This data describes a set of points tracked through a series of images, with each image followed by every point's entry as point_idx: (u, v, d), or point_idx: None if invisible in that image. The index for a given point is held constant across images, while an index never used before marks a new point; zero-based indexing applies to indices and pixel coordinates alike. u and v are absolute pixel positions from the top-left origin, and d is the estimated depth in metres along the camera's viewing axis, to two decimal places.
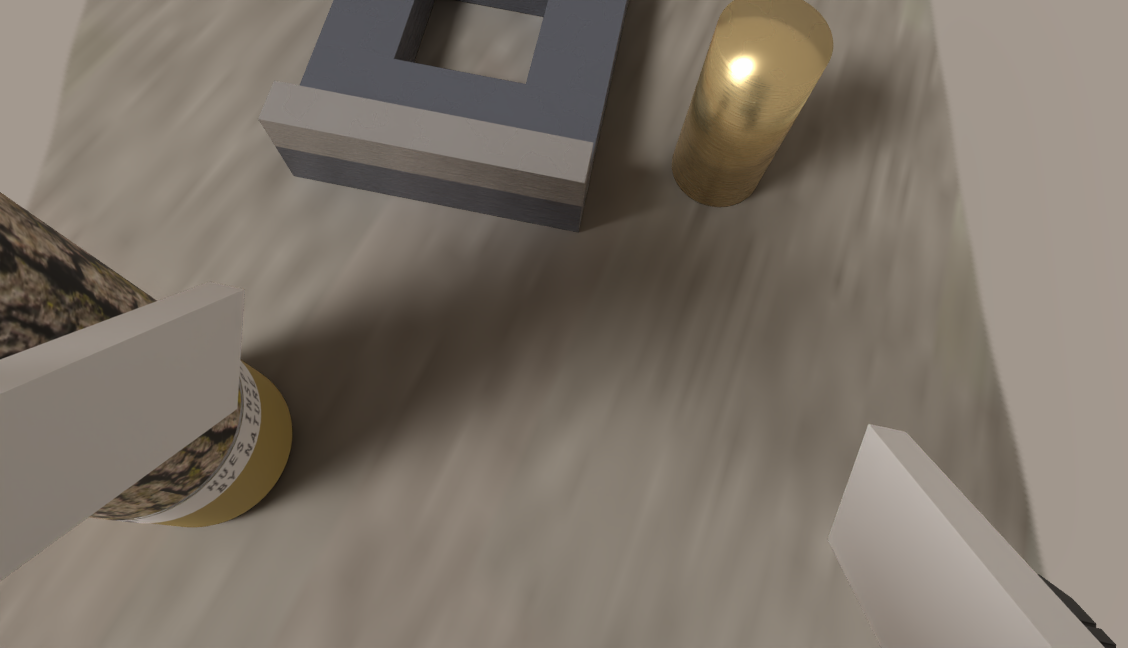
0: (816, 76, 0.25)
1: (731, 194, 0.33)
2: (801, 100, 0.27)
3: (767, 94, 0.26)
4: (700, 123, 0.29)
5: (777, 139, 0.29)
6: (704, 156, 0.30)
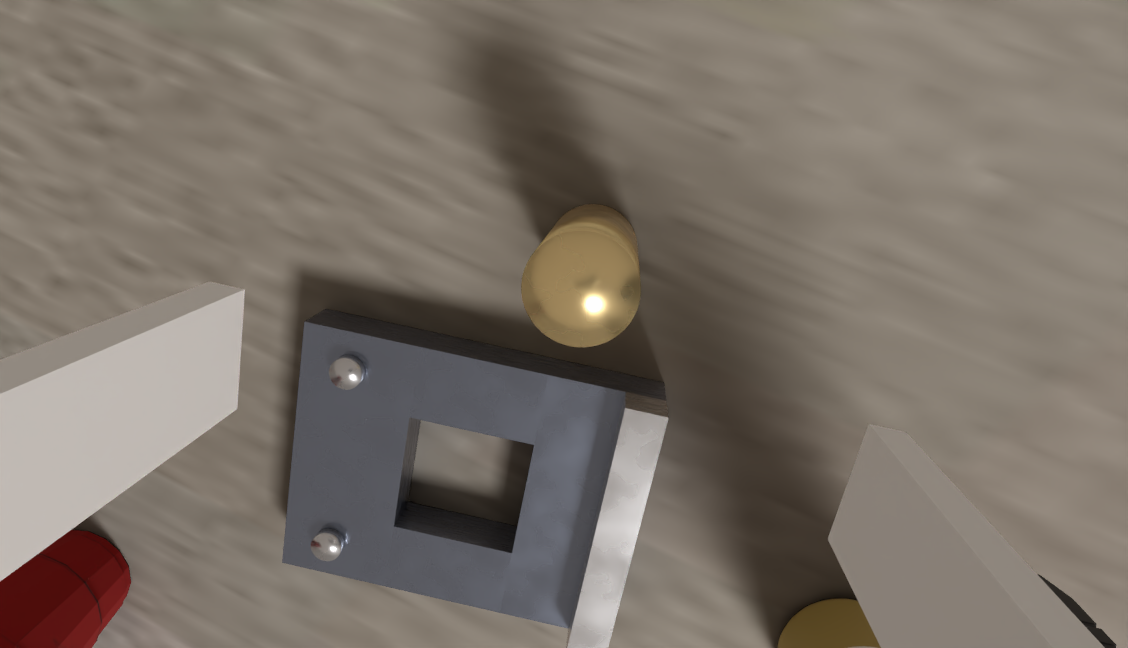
0: (627, 252, 0.25)
1: None
2: (629, 249, 0.26)
3: None
4: None
5: (631, 241, 0.28)
6: None
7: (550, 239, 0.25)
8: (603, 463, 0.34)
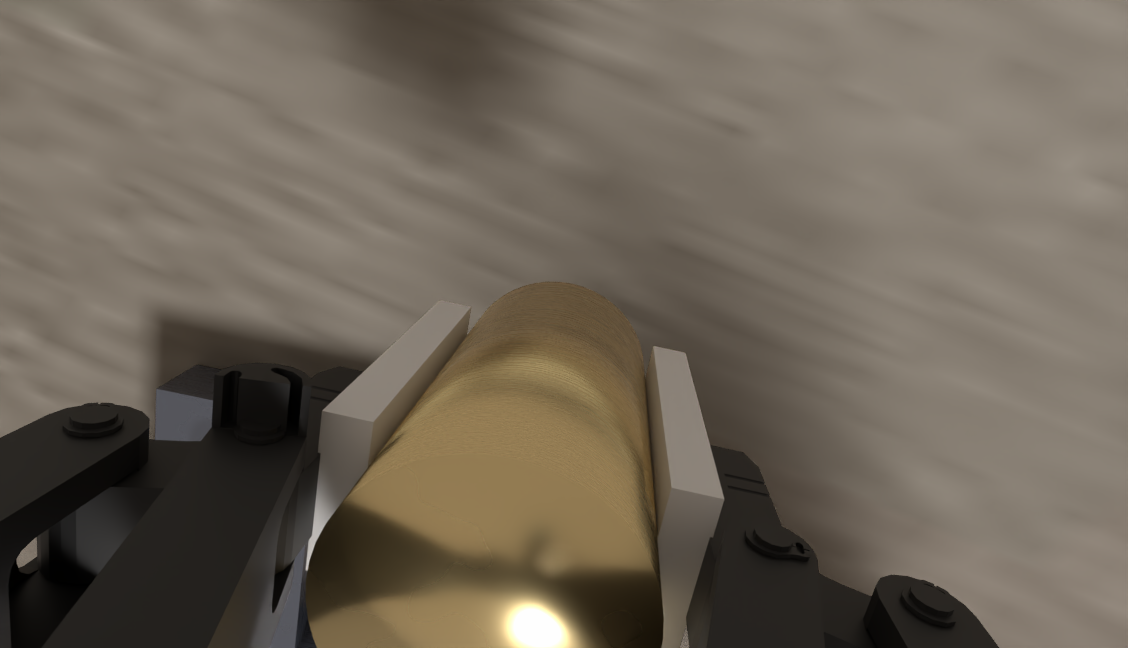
0: (621, 518, 0.08)
1: (644, 375, 0.16)
2: (628, 473, 0.09)
3: None
4: None
5: (632, 408, 0.12)
6: None
7: (381, 477, 0.08)
8: None
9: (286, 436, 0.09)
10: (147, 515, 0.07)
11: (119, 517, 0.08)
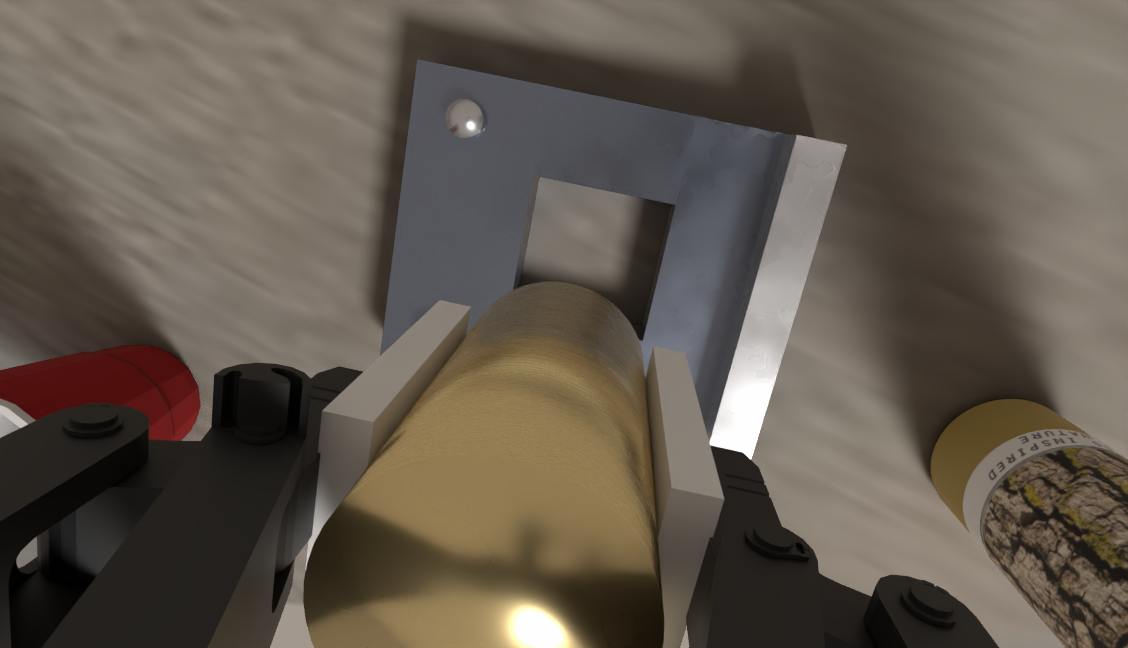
0: (622, 520, 0.08)
1: (644, 375, 0.16)
2: (629, 473, 0.09)
3: None
4: None
5: (632, 409, 0.11)
6: None
7: (380, 478, 0.08)
8: (754, 225, 0.30)
9: (286, 436, 0.09)
10: (147, 515, 0.07)
11: (120, 517, 0.08)
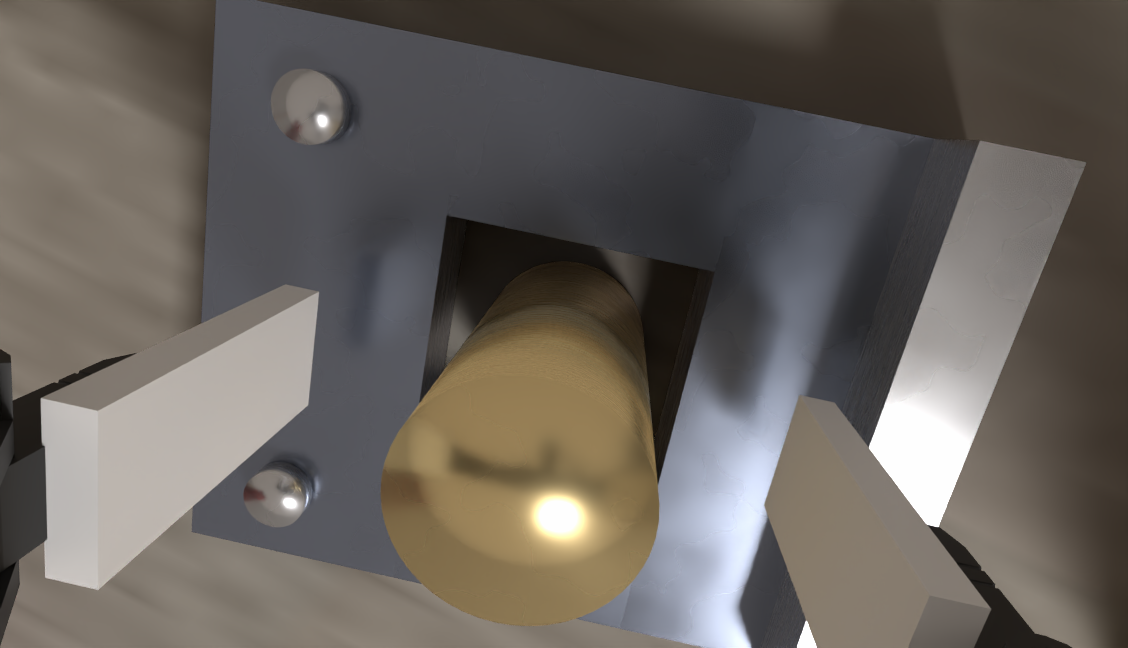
0: (627, 425, 0.10)
1: None
2: (631, 399, 0.12)
3: None
4: None
5: (634, 359, 0.14)
6: None
7: (442, 394, 0.10)
8: (864, 310, 0.16)
9: None
10: None
11: None
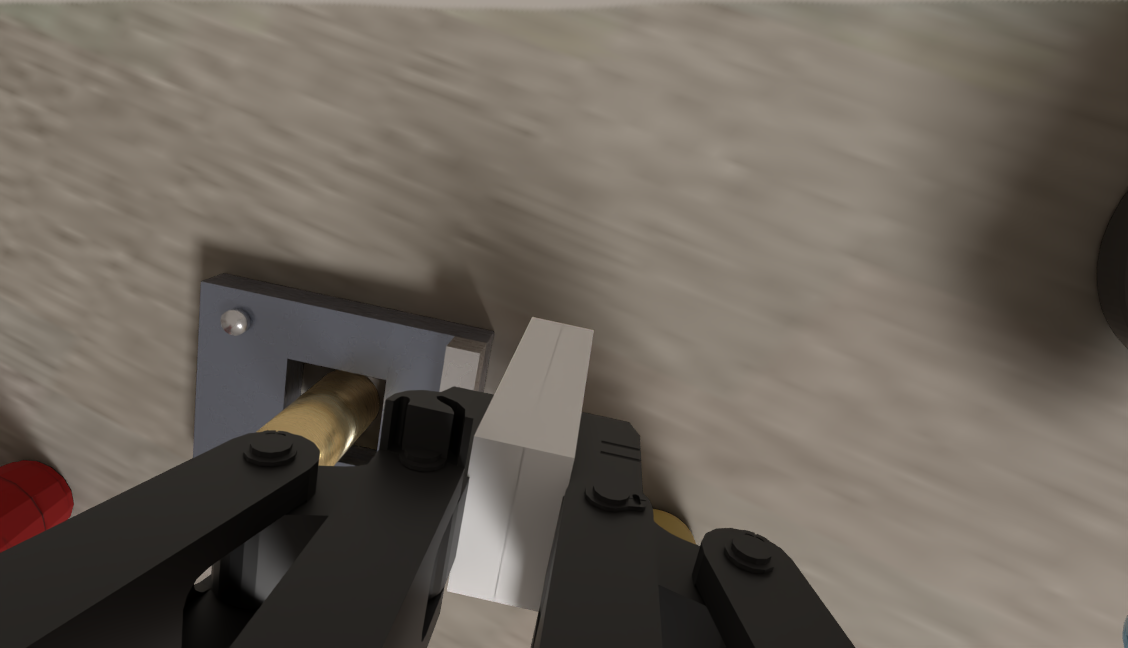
0: (311, 437, 0.37)
1: (372, 402, 0.45)
2: (323, 429, 0.39)
3: (327, 462, 0.38)
4: None
5: (342, 414, 0.41)
6: None
7: (260, 429, 0.37)
8: None
9: (446, 465, 0.09)
10: (318, 534, 0.07)
11: (299, 544, 0.09)
